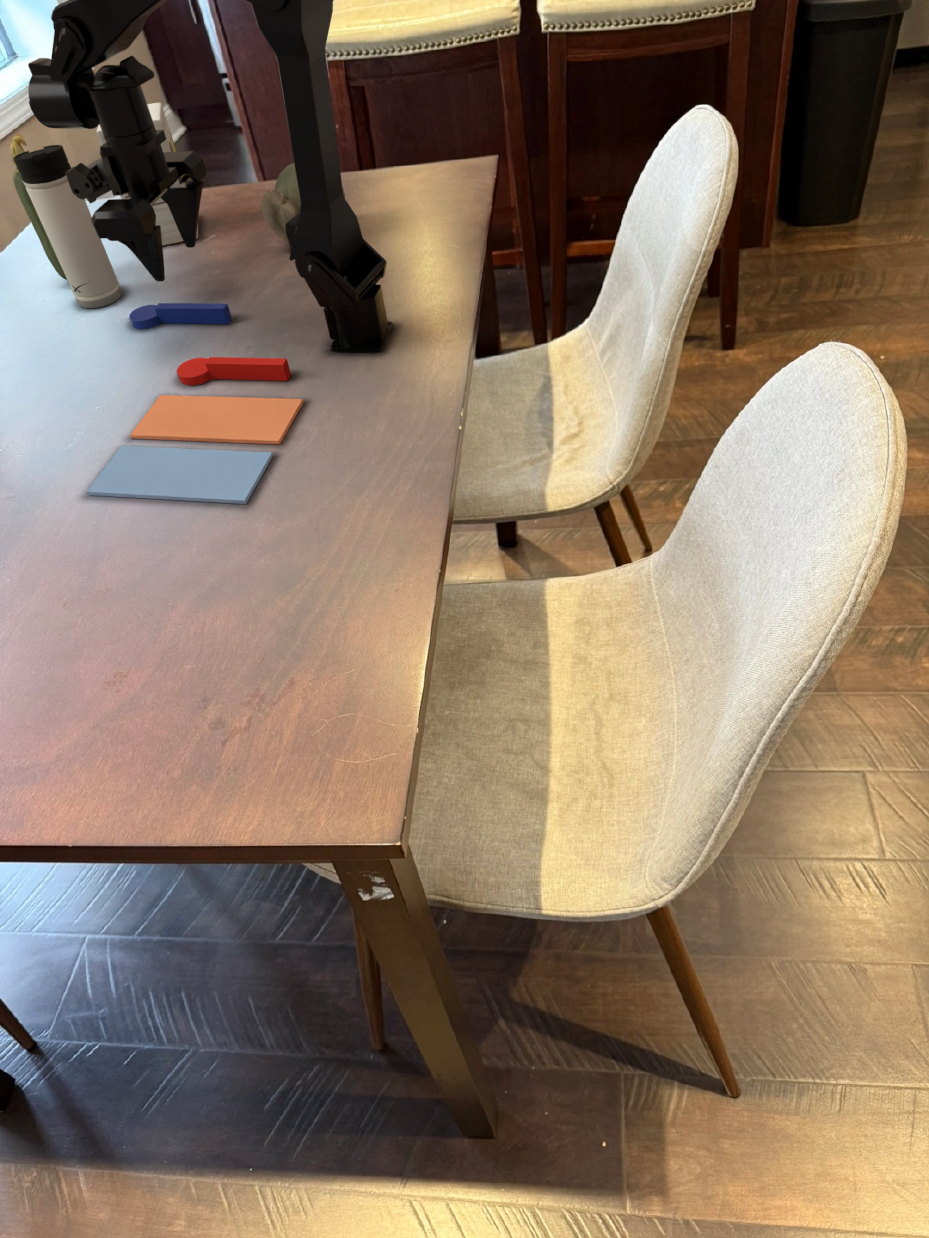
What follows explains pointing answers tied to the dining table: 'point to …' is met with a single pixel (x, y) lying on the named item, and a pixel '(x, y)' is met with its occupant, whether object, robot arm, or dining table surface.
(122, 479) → the blue mat
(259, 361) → the red spoon
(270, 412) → the terracotta mat
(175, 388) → the dining table surface
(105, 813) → the dining table surface
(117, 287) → the travel mug
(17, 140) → the vegetable
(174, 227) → the supplement box
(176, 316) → the blue spoon
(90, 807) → the dining table surface
